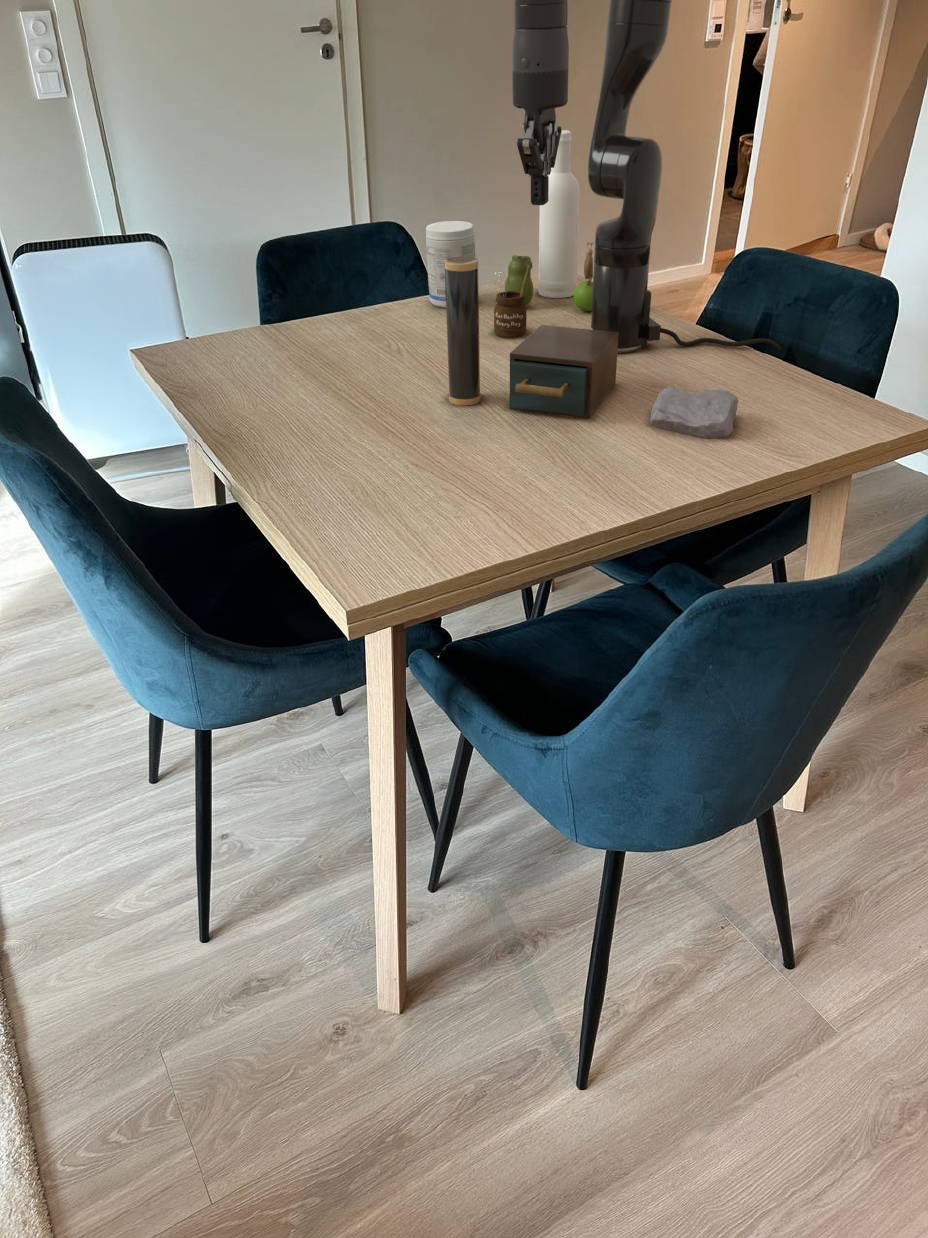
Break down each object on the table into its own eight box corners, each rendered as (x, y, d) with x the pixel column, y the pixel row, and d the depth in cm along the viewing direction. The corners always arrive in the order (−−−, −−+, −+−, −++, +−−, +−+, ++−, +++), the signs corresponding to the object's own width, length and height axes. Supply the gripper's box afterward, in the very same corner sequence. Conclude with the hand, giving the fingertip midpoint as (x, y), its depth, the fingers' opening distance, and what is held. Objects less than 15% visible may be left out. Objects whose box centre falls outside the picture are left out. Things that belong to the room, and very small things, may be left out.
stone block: (729, 451, 137) (738, 412, 143) (731, 422, 133) (740, 384, 140) (644, 445, 140) (657, 407, 147) (645, 416, 137) (658, 379, 144)
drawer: (575, 425, 139) (577, 379, 136) (500, 416, 143) (500, 371, 139) (607, 385, 153) (610, 342, 149) (538, 377, 156) (539, 335, 153)
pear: (501, 309, 191) (501, 256, 186) (510, 301, 195) (510, 250, 190) (528, 311, 190) (528, 258, 184) (537, 304, 194) (537, 251, 188)
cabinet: (589, 419, 144) (592, 362, 139) (509, 408, 148) (509, 353, 143) (615, 385, 155) (618, 331, 150) (540, 377, 159) (541, 324, 154)
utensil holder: (495, 328, 181) (495, 261, 175) (529, 328, 180) (530, 261, 174) (492, 338, 176) (491, 269, 170) (526, 338, 176) (527, 270, 169)
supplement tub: (467, 293, 201) (465, 218, 193) (483, 305, 194) (482, 227, 186) (422, 299, 199) (418, 223, 190) (437, 311, 191) (434, 232, 183)
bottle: (551, 285, 205) (554, 127, 188) (583, 291, 201) (590, 129, 184) (530, 295, 199) (532, 132, 183) (563, 300, 195) (568, 134, 179)
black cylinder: (476, 392, 154) (474, 254, 142) (483, 403, 150) (481, 262, 138) (446, 395, 153) (441, 257, 141) (452, 407, 149) (448, 265, 137)
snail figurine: (600, 305, 192) (604, 241, 185) (601, 314, 187) (604, 249, 180) (573, 304, 193) (575, 241, 186) (572, 314, 187) (575, 249, 181)
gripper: (552, 71, 124) (550, 215, 134) (581, 61, 134) (577, 195, 144) (497, 71, 127) (499, 212, 137) (529, 61, 137) (529, 193, 147)
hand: (539, 203), depth 140 cm, fingers closed
